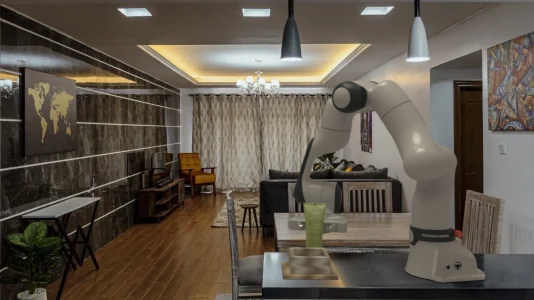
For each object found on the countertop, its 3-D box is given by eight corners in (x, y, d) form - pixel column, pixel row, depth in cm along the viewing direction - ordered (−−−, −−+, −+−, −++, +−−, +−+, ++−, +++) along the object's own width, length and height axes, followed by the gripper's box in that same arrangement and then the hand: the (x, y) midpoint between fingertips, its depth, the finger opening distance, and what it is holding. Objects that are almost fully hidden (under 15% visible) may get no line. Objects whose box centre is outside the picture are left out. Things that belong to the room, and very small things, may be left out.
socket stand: (331, 265, 138) (331, 246, 138) (338, 279, 124) (338, 258, 124) (281, 264, 138) (281, 246, 138) (283, 279, 124) (283, 258, 124)
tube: (313, 258, 146) (313, 201, 145) (325, 261, 142) (326, 202, 142) (302, 261, 142) (303, 202, 141) (315, 264, 138) (315, 204, 138)
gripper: (292, 211, 157) (283, 217, 144) (348, 213, 152) (345, 221, 138) (292, 228, 157) (283, 236, 144) (348, 231, 152) (345, 240, 138)
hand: (314, 229), depth 141 cm, fingers open, 8 cm apart
